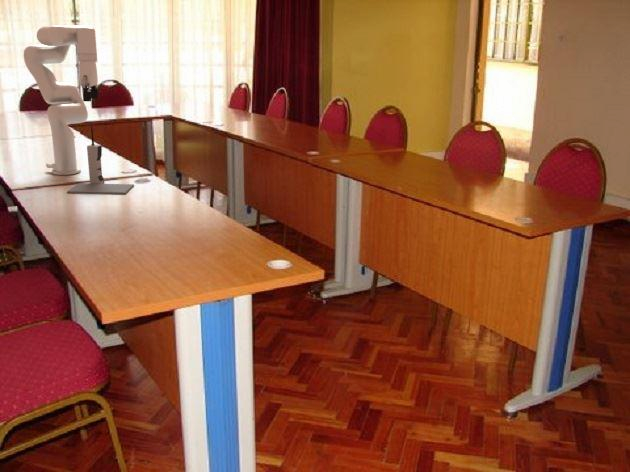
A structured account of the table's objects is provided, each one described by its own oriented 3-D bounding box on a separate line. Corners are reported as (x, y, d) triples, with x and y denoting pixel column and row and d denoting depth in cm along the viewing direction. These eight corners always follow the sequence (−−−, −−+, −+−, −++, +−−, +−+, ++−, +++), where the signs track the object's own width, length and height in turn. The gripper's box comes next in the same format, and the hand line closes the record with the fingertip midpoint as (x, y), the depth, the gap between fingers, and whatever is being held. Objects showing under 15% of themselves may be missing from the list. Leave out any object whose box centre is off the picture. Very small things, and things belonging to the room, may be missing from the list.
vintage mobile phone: (100, 184, 292) (96, 127, 284) (89, 183, 293) (85, 126, 285) (104, 182, 295) (100, 125, 288) (94, 181, 296) (89, 125, 288)
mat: (67, 193, 277) (67, 191, 277) (78, 184, 290) (78, 183, 290) (125, 194, 277) (125, 192, 277) (133, 186, 291) (133, 184, 290)
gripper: (85, 56, 286) (88, 97, 291) (71, 59, 269) (75, 102, 275) (102, 57, 286) (105, 97, 291) (90, 59, 269) (93, 102, 275)
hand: (90, 99), depth 283 cm, fingers open, 9 cm apart
